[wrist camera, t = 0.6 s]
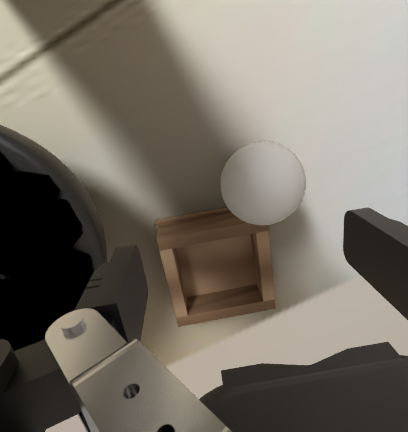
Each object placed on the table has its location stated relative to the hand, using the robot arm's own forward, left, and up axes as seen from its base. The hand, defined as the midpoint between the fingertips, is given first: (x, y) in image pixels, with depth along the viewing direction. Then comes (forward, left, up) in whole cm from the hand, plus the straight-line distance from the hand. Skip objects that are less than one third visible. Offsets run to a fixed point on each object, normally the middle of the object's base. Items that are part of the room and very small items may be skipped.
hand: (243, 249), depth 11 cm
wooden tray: (+11, 0, -19) cm, 22 cm away
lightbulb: (+1, +4, -19) cm, 19 cm away
